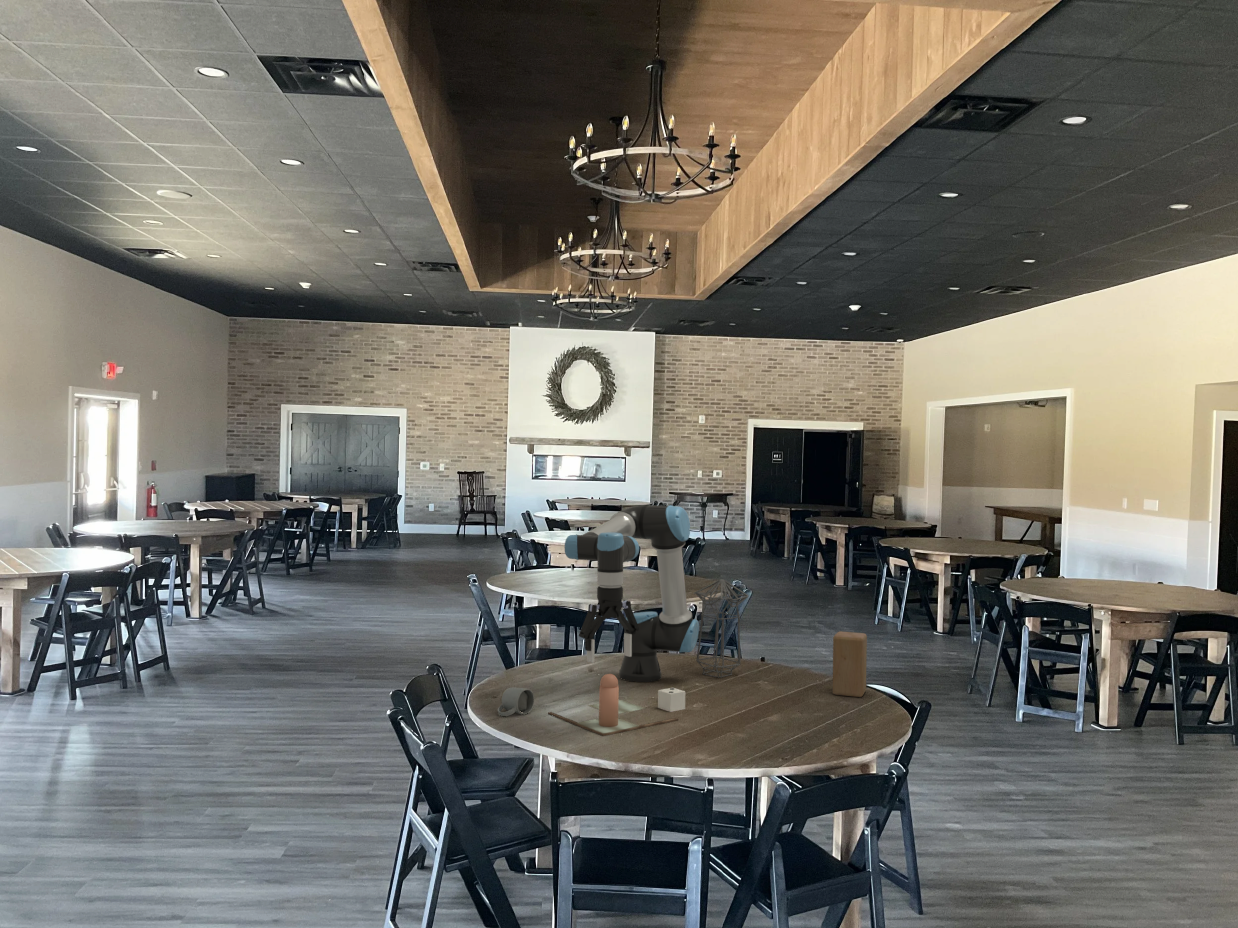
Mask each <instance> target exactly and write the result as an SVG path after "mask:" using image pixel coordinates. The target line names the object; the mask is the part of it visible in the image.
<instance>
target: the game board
mask: <svg viewBox="0 0 1238 928" xmlns="http://www.w3.org/2000/svg"><path fill="white" fill-rule="evenodd" d="M587 706H588V707H591V708H594V709H596V710H598V711H599V703H594V704H588V705H587ZM644 709H645V710H646V709H647V708H646V707H645V706H644V707H643V706H641V705H638V704H635V703H631V702H628V701H625V700H624V699H619V702H618V715H620V714H624V713H628V712H629V713H630V712H635V711H639V710H644ZM547 714H548V715H549V714H550V716H552V715H553V716H552V717H554V716H555V717H554V718H557V719H559V720H562V721H565V722H567V723H570V724H572V725H575V726H577V727H579V728H582V729H585V730H587V731H589V732H592V733H594V734H597V735H600V736H601V737H606V736H610V735H614V734H615V735H616V734H618V733H625V732H630V731H634V730H640V729H644V728H649V727H654V726H658V725H664V724H667V723H672V722H678V721H679V718H677V717H673V718H668V719H664V720H659V721H655V722H650V723H644V724H640V725H639V724H636V723H633V722H630V721H628V720H626V719H621V718H619V717H618V725H617V726H614V727H604V726H600V725H599V718H594V719H590V720H585V721H579V722H578V721H575V720H573V719H570V718H567V717H565V716H562V715H560V714H557V713H554V712H552V711H549V712H547Z"/></svg>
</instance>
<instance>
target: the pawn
mask: <svg viewBox="0 0 1238 928" xmlns="http://www.w3.org/2000/svg"><path fill="white" fill-rule="evenodd" d="M599 683H600V685H599V688H598V689H599V693H598V694H599V695H598V696H599V698H598V700H599V702H598V704H599V710H598V719H599V725H600V726H604V727H614V726H617V725H618V718H619V714H618V702H619V700H620V699H619V696H620V695H619V693H620V691H619V690H620V689H619V687H620V686H619V680H618V678H617V677H616V675H614V674H613V673H606V674H604V675H603V676H602V677H601V678H600V682H599Z"/></svg>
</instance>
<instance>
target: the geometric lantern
mask: <svg viewBox="0 0 1238 928" xmlns="http://www.w3.org/2000/svg"><path fill="white" fill-rule="evenodd" d="M719 585H720V589H718V588H719ZM708 588H709V589H708ZM705 589H708V590H707V591H706V592H702V591H704V590H705ZM735 590H736V591H738V592H740V593H741V594H737V593H736V591H735ZM718 592H720V597H718V596H717V594H718ZM727 594H728V595H727ZM693 595H696V596H697V597H698V598H699V599H700V600H701V602H702V603H703V606H702V609H701V614H700V624H699V635H698V645H697V652H696V662H697V664H699V666H700V667H701V668H702V675H705V676H709V677H714V678H717V679H718V678H726V677H729V676H732V675H733V670H734V669H736V668H738V667H739V666H741V640H740V639H741V630H740V629H741V616H740V611H739V605H740V604H741V603H743V602H744V601H745V600H747V599H748V598H749V594H747V593H745V592H744V591H742V590H741V589H739V588H738V587H736V586H734V584H732V583H731V582H728V581H727V580H725V579H720V578H719V579H718V580H716V581H715V582H714V581H713V583H711V584H708V585H706V586H704V587H702V588H700V589H699V590H696V591H694V592H693ZM708 595H709V596H708ZM723 595H724V598H723ZM716 596H717V597H716ZM733 597H734V598H733ZM706 598H707V599H706ZM713 600H715V601H713ZM721 600H726V601H727V604H726V605H725V607H724V609H723V610H722V611H720V610H719V609H718V607H717V605H716V603H717V602H720V601H721ZM707 602H708V603H707ZM733 603H734V605H733ZM707 606H710V607H711V610H712V612H705V610H706V607H707ZM713 606H714V607H715V608H716V611H715V609H714V607H713ZM728 606H729V609H728V610H727V611H726V609H727V608H728ZM735 607H736V614H732V613H728V612H729V611H730V609H731V608H735ZM725 611H726V612H725ZM710 614H714V615H715V617H714V616H710ZM720 614H721V617H719V615H720ZM726 615H728V616H732V617H727V618H726ZM733 616H734V617H733ZM704 617H707V618H709V619H714V620H716V625H715V632H714V633H715V634H714V645H713V654H712V656H709V657H702V658H700V653H701V652H700V649H701V641H702V639H701V638H702V629H703V626H704V625H703V624H704V623H703V622H704ZM731 619H737V634H738V635H737V636H738V638H737V639H738V640H737V644H738V645H737V647H738V648H737V660H735V659H730V658H725V620H731ZM720 621H721V627H720ZM719 628H721V630H720V629H719ZM719 630H720V653H719V654H720V656H718V644H719ZM709 659H712V661H713V664H710V663H706V662H704V661H703V660H709ZM725 660H726V661H730V662H734V663H735V664H728V665H727V664H726V665H725ZM720 661H721V663H722V665H719V662H720ZM702 664H703V665H706V666H705V667H704V666H703V665H702ZM711 667H713V669H710V668H711ZM718 668H719V669H720V668H721V669H720V670H718ZM715 669H716V670H715ZM723 669H727V670H723ZM705 670H707V671H705ZM712 672H714V673H717V676H716V675H711V674H708V673H712ZM719 673H720V674H719ZM722 673H723V674H726V675H722ZM719 675H720V676H719Z"/></svg>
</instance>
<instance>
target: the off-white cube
mask: <svg viewBox="0 0 1238 928" xmlns="http://www.w3.org/2000/svg"><path fill="white" fill-rule="evenodd" d="M657 708H658V709H661V710H663V711H667V712H670V713H672V712H676V711H677V712H678V711H681V710H686V691H685V690H683V689H682V690H681V689H678V688H675V687H670V688H662V689H658V690H657Z"/></svg>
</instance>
